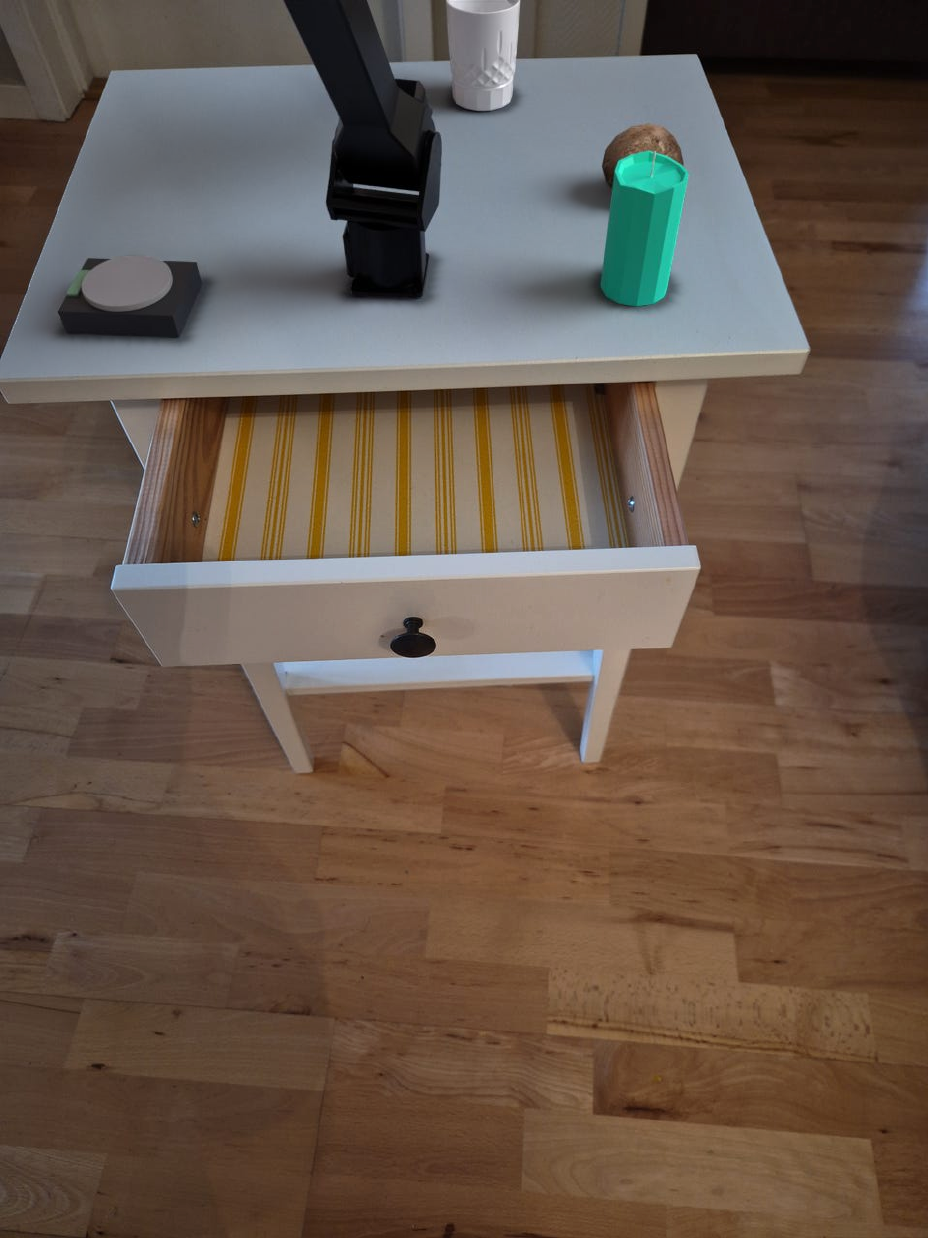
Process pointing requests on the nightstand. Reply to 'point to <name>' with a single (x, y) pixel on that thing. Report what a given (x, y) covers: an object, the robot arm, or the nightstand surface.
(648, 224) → the candle
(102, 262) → the scale
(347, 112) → the robot arm
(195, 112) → the nightstand surface
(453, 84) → the white cup
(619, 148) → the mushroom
